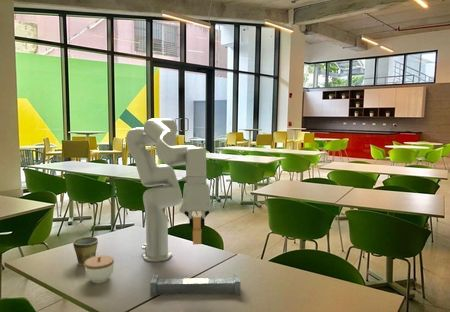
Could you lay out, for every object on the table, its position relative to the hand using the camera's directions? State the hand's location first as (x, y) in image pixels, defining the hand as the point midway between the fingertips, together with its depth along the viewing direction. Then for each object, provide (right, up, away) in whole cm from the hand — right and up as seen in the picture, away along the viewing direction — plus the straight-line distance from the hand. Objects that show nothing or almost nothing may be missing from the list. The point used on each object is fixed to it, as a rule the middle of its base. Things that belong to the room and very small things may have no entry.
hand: (197, 227), depth 138 cm
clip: (0, -5, +1) cm, 5 cm away
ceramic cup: (-50, -19, +21) cm, 57 cm away
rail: (0, -22, -5) cm, 23 cm away
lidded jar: (-38, -21, +4) cm, 44 cm away
